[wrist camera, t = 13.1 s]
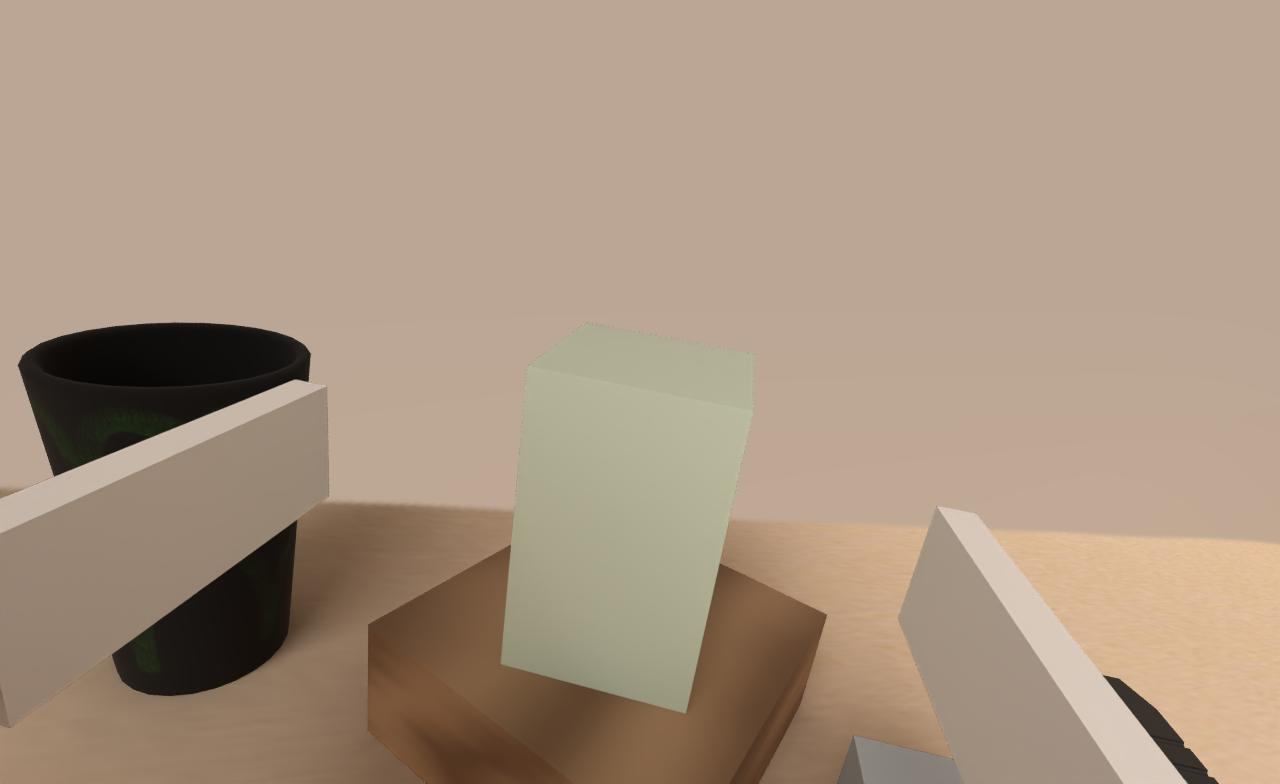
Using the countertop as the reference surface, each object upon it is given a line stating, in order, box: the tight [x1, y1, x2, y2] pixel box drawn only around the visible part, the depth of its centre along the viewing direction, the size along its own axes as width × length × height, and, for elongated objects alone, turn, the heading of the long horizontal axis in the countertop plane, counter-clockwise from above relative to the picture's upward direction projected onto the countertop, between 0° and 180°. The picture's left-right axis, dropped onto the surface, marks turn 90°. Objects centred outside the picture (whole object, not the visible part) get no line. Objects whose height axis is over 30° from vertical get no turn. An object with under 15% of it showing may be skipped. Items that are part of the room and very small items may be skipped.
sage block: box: [501, 322, 755, 714], centre depth 20 cm, size 6×6×10 cm
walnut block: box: [368, 545, 827, 784], centre depth 23 cm, size 12×12×5 cm
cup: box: [18, 323, 311, 696], centre depth 22 cm, size 8×8×12 cm
